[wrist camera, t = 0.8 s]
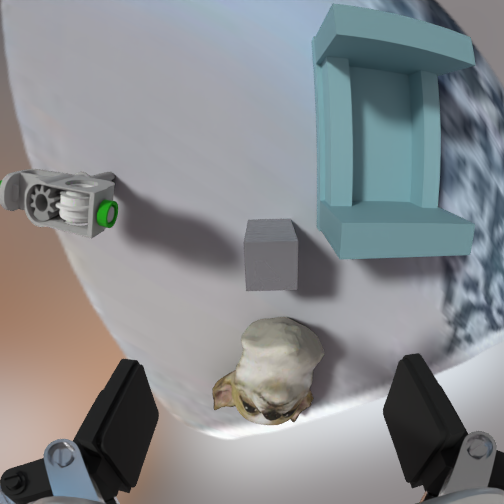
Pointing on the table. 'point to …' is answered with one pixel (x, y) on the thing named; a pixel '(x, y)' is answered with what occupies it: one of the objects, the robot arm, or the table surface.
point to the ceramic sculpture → (271, 372)
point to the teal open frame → (384, 134)
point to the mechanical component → (62, 199)
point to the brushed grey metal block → (271, 255)
